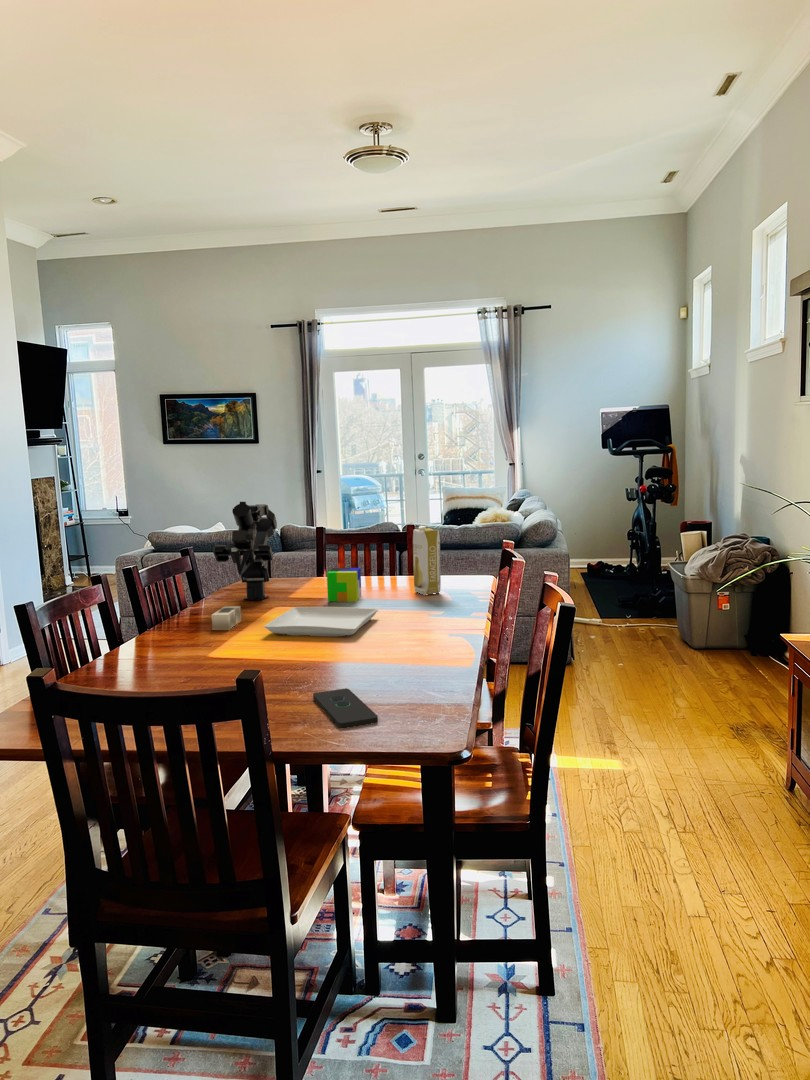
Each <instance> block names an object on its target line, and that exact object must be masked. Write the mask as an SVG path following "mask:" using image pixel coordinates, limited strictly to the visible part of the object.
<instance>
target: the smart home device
mask: <svg viewBox="0 0 810 1080" xmlns="http://www.w3.org/2000/svg"><path fill="white" fill-rule="evenodd" d="M312 695H313V697H312V698H313V701H314V700H315V701H316V702H317V703H318V704H317V703H316V702H315V701H314V702H315V703H316V704H317V705H318V707H319V708H320V709H321V708H322V709H323V710H324V711H325V712H326V713H325V712H324V711H323V710H322V709H321V710H322V711H323V712H324V713H325V714H326V715H327V716H328V718H329V717H330V718H329V719H330V720H331V721H332V723H334V724H335V725H336V726H337V728H338V729H340V728H344V729H348V728H347V727H350V728H354V727H353V726H356V727H360V726H359V725H362V726H367V725H366V724H368V725H372V724H371V723H374V724H378V723H379V721H378V719H379V716H378V714H376V713H375V712H374V711H373V709H371V708H370V707H369V706H368V705H367V704H366V703H364V701H363V700H361V698H359V697H358V696H357V695H356V694H355V693H353V691H352V690H351V689H350V688H339V689H338V688H337V689H332V690H327V691H320V692H315V693H312ZM377 722H378V723H377Z"/></svg>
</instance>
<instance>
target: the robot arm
mask: <svg viewBox="0 0 810 1080" xmlns="http://www.w3.org/2000/svg"><path fill="white" fill-rule="evenodd" d="M232 515H233V518H234V520H235V524H236V526H237V527H238V529H237V530H232V534H231V541H232V542H233V544H232V547H231V548H230V549H228V547H227V545H226V544H225V545H215V546H214V547H213V549H212V553H213V555H214V558H215V561H216V562H217V563H222V562H225V563H227V562H228V561H229V560H230V558H231V561H232V563H233V564H236V568H237V573H238V575H239V576H240V577H241V583H242V584H243V583H246V587H245V588H246V596H245V597H243V600H244V599H248V600H247V601H256V600H259V601H261V600H260V599H262V600H264V599H263V598H265V599H267V598H266V597H268V598H269V595H266V592H265V591H266V590H265V583H267V582H269V581H270V575H269V571H268V568H267V565H266V563H265V562H267V561H269V562H271V561H273V560H274V559H273V558H274V553H273V548H272V545H270V544H268V541H269V538H271V537H272V536H274V534H275V532H276V530H277V526H278V522H277V518H276V514H275V513H274V512H273V511H271V509H269V506H268V504H266V503H265V504H263V503H261V504H254V505H253V504H250V505H249V504H247V501H239V504H236V505H235V506H234V507H233V508H232ZM263 516H265V517H263Z"/></svg>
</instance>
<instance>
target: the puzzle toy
mask: <svg viewBox="0 0 810 1080" xmlns="http://www.w3.org/2000/svg"><path fill="white" fill-rule="evenodd" d="M361 574H362V573H361V567H333V568H331V569H330V570H328V572H326V582H327V583H326V584H327V585H326V586H327V602H328V601H357V602H358V601H359V600H360V598H361V597H362V575H361Z"/></svg>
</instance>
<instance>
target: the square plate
mask: <svg viewBox="0 0 810 1080" xmlns="http://www.w3.org/2000/svg"><path fill="white" fill-rule="evenodd" d="M378 611H379V610H378V609H377V608H361V607H360V608H359V607H346V606H345V607H344V606H343V607H341V606H296V607H295V606H294V607H293V608H292V607H291V608H290V609H289V610H286V611H285V612H284V613H282V614H280V615H278V616H277V617H276V618H274V619H272V620H271V621H269V622H267V624H264V625H263V628H265V629H266V630H268V631H269V632H270V633H273V634H281V635H285V634H287V635H286V636H299V635H310V637H346V636H345V635H347V636H352V635H354V634H355V633H356V632H357V631H358V630H359V629H360V628H361V627H362V626H365V624H366V623H368V622H369V621H370V620H371V619H372V618H373V617H375V615H376V614H377V612H378Z"/></svg>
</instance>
